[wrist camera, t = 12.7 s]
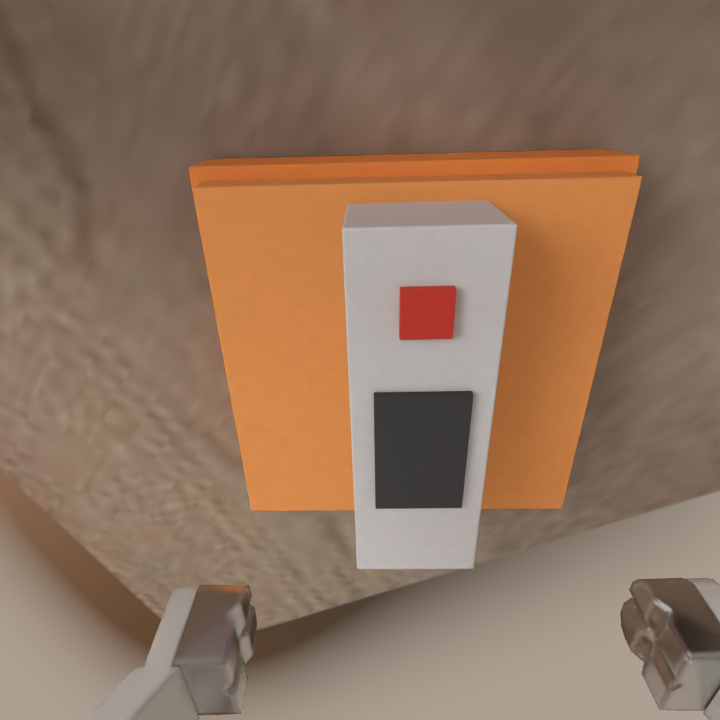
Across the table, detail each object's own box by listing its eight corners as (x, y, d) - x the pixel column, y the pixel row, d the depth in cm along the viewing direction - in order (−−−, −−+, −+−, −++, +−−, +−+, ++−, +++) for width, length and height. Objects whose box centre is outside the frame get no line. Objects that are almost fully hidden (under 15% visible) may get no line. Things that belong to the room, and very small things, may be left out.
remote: (346, 203, 16) (340, 230, 13) (489, 199, 16) (521, 226, 13) (358, 505, 23) (357, 576, 19) (459, 504, 23) (475, 575, 19)
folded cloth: (208, 158, 19) (172, 171, 16) (608, 148, 19) (663, 159, 15) (258, 464, 27) (242, 519, 23) (544, 461, 27) (571, 516, 23)
